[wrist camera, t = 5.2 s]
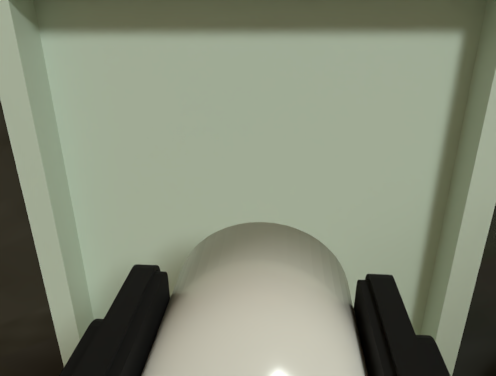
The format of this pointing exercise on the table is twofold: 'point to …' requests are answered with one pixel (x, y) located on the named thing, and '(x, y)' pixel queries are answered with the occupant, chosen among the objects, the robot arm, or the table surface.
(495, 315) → the table surface
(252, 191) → the tray
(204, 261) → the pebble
